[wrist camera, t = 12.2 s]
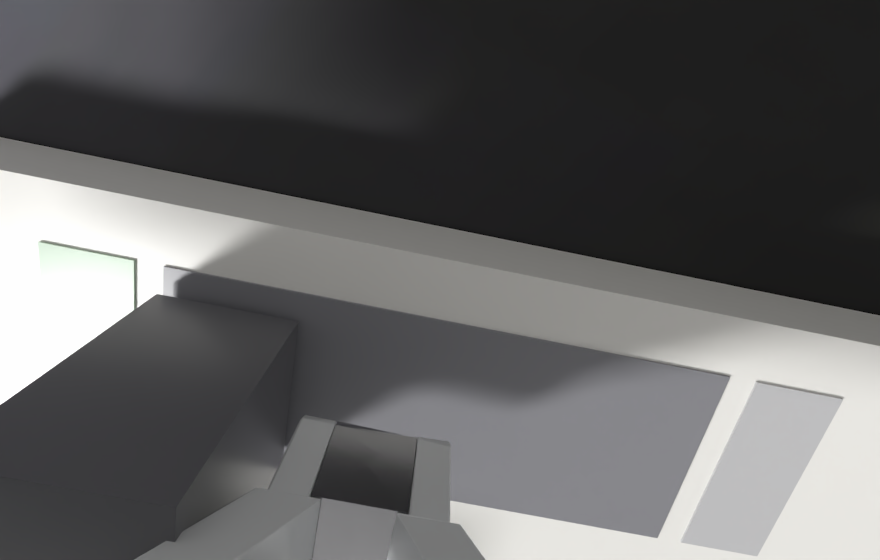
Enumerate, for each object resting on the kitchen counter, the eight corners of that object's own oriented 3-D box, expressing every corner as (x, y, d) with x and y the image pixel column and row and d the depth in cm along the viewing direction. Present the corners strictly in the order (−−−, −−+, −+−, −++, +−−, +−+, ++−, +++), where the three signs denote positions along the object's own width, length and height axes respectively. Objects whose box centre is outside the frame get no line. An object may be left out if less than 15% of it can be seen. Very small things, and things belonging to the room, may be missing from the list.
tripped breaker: (299, 321, 9) (177, 507, 5) (282, 462, 10) (169, 707, 6) (156, 293, 9) (-80, 461, 5) (154, 439, 10) (-43, 673, 6)
